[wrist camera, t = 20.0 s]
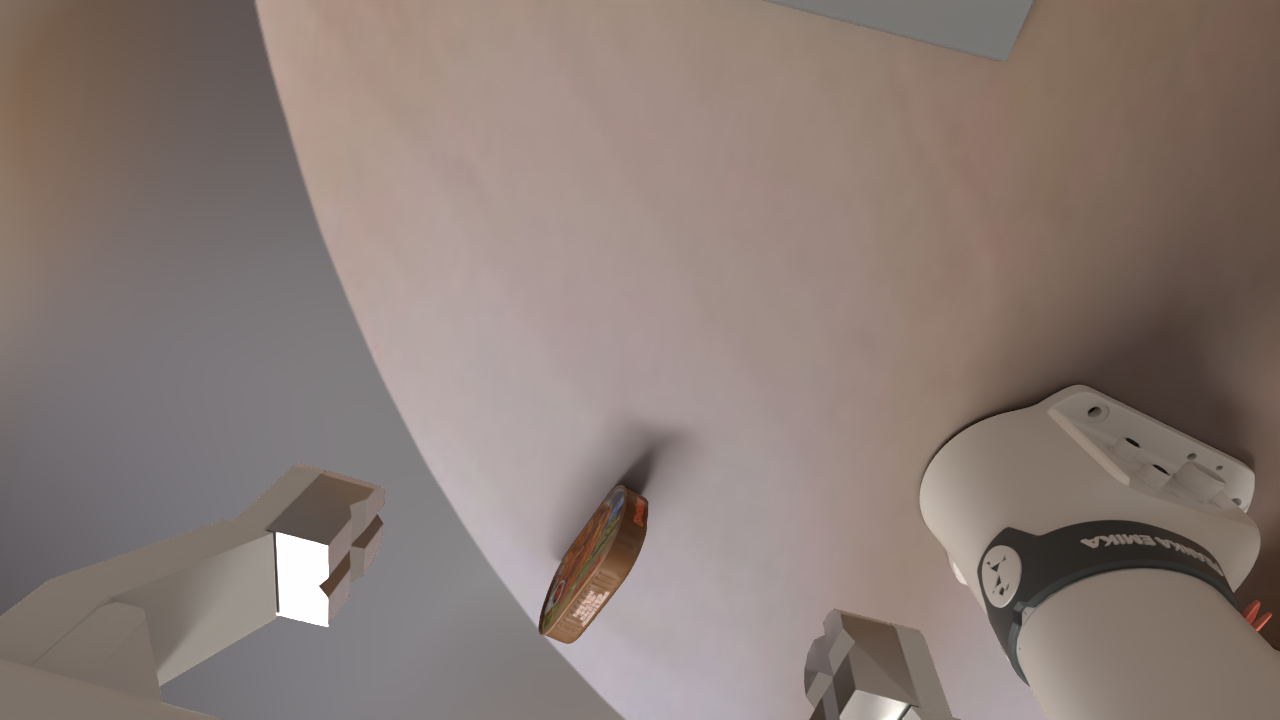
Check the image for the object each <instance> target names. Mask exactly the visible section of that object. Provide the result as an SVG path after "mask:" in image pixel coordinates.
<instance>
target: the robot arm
mask: <svg viewBox="0 0 1280 720" xmlns="http://www.w3.org/2000/svg"><path fill="white" fill-rule="evenodd" d="M1093 407H1096V408H1095V409H1094V410H1093V411H1092V412H1088V411H1089V410H1090V409H1091V408H1093ZM1254 488H1255V474H1254V473H1253V471H1252V470H1251V469H1250V468H1249V467H1248V466H1247V465H1246V464H1244V463H1243V462H1241V461H1239V460H1237V459H1235V458H1233V457H1231V456H1229V455H1227V454H1225V453H1223V452H1221V451H1219V450H1217V449H1215V448H1213V447H1211V446H1209V445H1207V444H1205V443H1203V442H1201V441H1199V440H1197V439H1195V438H1193V437H1191V436H1189V435H1187V434H1185V433H1182V432H1180V431H1178V430H1176V429H1174V428H1172V427H1170V426H1168V425H1166V424H1164V423H1162V422H1160V421H1158V420H1156V419H1154V418H1152V417H1150V416H1148V415H1146V414H1144V413H1142V412H1140V411H1137V410H1135V409H1133V408H1131V407H1129V406H1127V405H1125V404H1123V403H1121V402H1119V401H1117V400H1115V399H1113V398H1111V397H1109V396H1107V395H1105V394H1103V393H1101V392H1099V391H1097V390H1094V389H1092V388H1090V387H1088V386H1085V385H1074V386H1070V387H1067V388H1065V389H1063V390H1061V391H1059V392H1057V393H1055V394H1053V395H1052V396H1050V397H1048V398H1046V399H1045V400H1043V401H1041V402H1040V403H1038V404H1036V405H1034V406H1031V407H1028V408H1024V409H1020V410H1015V411H1011V412H1007V413H1003V414H999V415H996V416H993V417H990V418H988V419H985V420H983V421H980V422H978V423H976V424H974V425H972V426H971V427H969V428H967V429H965V430H964V431H962V432H961V433H959V434H958V435H957V436H955V437H954V438H953V439H951V440H950V441H949V442H948V443H947V444H946V445H945V446H944V447H943V448H942V449H941V450H940V451H939V452H938V453H937V455H936V456H935V457H934V459H933V460H932V461H931V463H930V465H929V466H928V468H927V470H926V472H925V475H924V477H923V480H922V484H921V489H920V507H921V512H922V515H923V518H924V520H925V522H926V524H927V526H928V528H929V529H930V531H931V532H932V533H933V534H934V536H935V537H936V538H937V539H938V540H939V541H940V543H941V544H942V545H943V547H944V548H945V549H946V551H947V552H948V557H949V562H950V566H951V568H952V571H953V572H954V574H955V575H956V577H957V579H958V580H959V581H960V582H961V583H963V584H965V585H968V586H969V587H970V589H971V591H972V592H973V594H974V595H975V597H976V599H977V600H978V602H979V603H980V605H981V607H982V608H983V610H984V611H985V613H986V614H987V616H988V618H989V621H990V623H991V625H992V627H993V629H994V631H995V633H996V635H997V638H998V640H999V642H1000V644H1001V646H1002V647H1001V649H1002V651H1003V653H1004V655H1005V657H1006V658H1007V659H1008V661H1009V662H1010V663H1011V665H1012V667H1013V668H1014V670H1015V671H1016V673H1017V675H1018V676H1019V677H1020V678H1021V679H1022V680H1023V681H1024V682H1025V683H1026V684H1027V685H1028V686H1029V687H1031V689H1032V691H1033V693H1034V695H1035V697H1036V699H1037V702H1038V704H1039V706H1040V708H1041V710H1042V712H1043V714H1044V716H1045V718H1046V720H1280V655H1279V654H1278V653H1277V652H1276V651H1275V650H1274V649H1273V648H1272V646H1271V645H1270V644H1269V643H1268V642H1267V641H1266V640H1265V639H1264V638H1263V637H1262V636H1261V635H1260V634H1259V633H1258V631H1259V630H1260V629H1261V628H1262V627H1263V625H1264V624H1265V623H1266V622H1267V621H1268V619H1269V618H1270V617H1271V616H1272V614H1271V613H1269V612H1267V613H1265V614H1264V615H1262V616H1261V617H1260V618H1258V619H1257V620H1256V621H1255V622H1253V621H1254V620H1255V617H1256V615H1257V612H1258V610H1259V607H1260V605H1261V603H1260V602H1259V601H1257V600H1255V601H1253V602H1251V603H1250V604H1249V605H1248V607H1247V608H1246V609H1245V610H1244V611H1243V612H1242V613H1241V612H1240V609H1239V606H1238V604H1237V601H1236V598H1235V596H1234V594H1233V593H1234V592H1235V591H1236V589H1237V588H1238V587H1239V586H1240V585H1241V583H1242V582H1243V581H1244V579H1245V578H1246V577H1247V575H1248V574H1249V572H1250V571H1251V569H1252V567H1253V566H1254V563H1255V561H1256V559H1257V557H1258V554H1259V551H1260V546H1261V537H1260V532H1259V529H1258V527H1257V525H1256V524H1255V522H1254V521H1253V520H1252V519H1251V518H1250V517H1249V516H1248V515H1247V514H1246V513H1247V511H1248V508H1249V506H1250V503H1251V501H1252V497H1253V494H1254ZM1231 499H1232V500H1231ZM384 502H385V490H384V489H383V488H382V487H381V486H378V485H375V484H372V483H368V482H364V481H361V480H358V479H354V478H351V477H348V476H345V475H341V474H338V473H334V472H331V471H325V470H322V469H319V468H315V467H312V466H308V465H306V464H302V463H301V464H298V465H295V466H293V467H291V468H290V469H289V470H288V471H287V472H286V473H285V474H284V475H283V476H281V477H280V478H279V479H278V480H277V481H276V482H275V483H274V484H273V485H272V486H271V487H270V488H269V489H267V490H266V491H265V492H264V493H263V494H262V495H261V496H260V497H259V498H258V499H257V500H256V501H254V503H252V504H251V505H250V506H249V507H248V508H247V509H246V510H245V511H244V512H243V513H242V514H240V515H239V516H238V517H237V518H236V519H235V520H234V521H233V522H231V521H227V520H222V521H219V522H216V523H213V524H210V525H207V526H204V527H201V528H199V529H196V530H192V531H190V532H187V533H184V534H181V535H178V536H175V537H172V538H170V539H166V540H163V541H160V542H158V543H155V544H152V545H149V546H146V547H143V548H140V549H137V550H134V551H132V552H129V553H125V554H123V555H120V556H117V557H114V558H111V559H108V560H105V561H103V562H99V563H96V564H93V565H90V566H88V567H85V568H82V569H79V570H76V571H73V572H70V573H67V574H64V575H61V576H58V577H56V578H53V579H50V580H48V581H46V582H45V583H44V584H42V585H41V586H40V587H39V588H37V589H36V590H35V591H33V592H32V593H31V594H29V595H28V596H27V597H25V598H24V599H23V600H21V601H20V602H19V603H18V604H16V605H15V606H14V607H12V608H11V609H10V610H8V611H7V612H6V613H4V614H3V615H2V616H0V720H224V719H220V718H217V717H213V716H210V715H206V714H202V713H199V712H195V711H191V710H188V709H184V708H181V707H177V706H173V705H169V704H166V703H162V698H161V694H160V688H159V686H161V685H163V684H164V683H166V682H168V681H169V680H171V679H173V678H175V677H176V676H178V675H180V674H181V673H183V672H185V671H186V670H188V669H190V668H192V667H193V666H195V665H197V664H198V663H200V662H202V661H204V660H205V659H207V658H208V657H210V656H212V655H214V654H216V653H217V652H219V651H221V650H222V649H224V648H226V647H227V646H229V645H231V644H232V643H234V642H236V641H238V640H239V639H241V638H243V637H244V636H246V635H248V634H250V633H251V632H253V631H255V630H257V629H258V628H260V627H262V626H263V625H265V624H267V623H268V622H270V621H272V620H274V619H275V618H276V617H277V615H281V616H286V617H290V618H294V619H298V620H302V621H306V622H310V623H315V624H319V625H323V626H327V627H328V625H329V624H330V622H331V621H332V619H333V618H334V617H335V615H336V614H337V613H338V611H339V610H340V608H341V607H342V606H343V604H344V603H345V601H346V600H347V599H348V597H349V596H350V582H351V581H354V580H356V579H358V578H360V577H362V576H364V574H365V573H366V572H367V570H368V569H369V567H370V566H371V564H372V562H373V560H374V558H375V556H376V554H377V551H378V549H379V546H380V543H381V539H382V535H383V522H382V521H381V519H380V518H379V516H378V512H379V511H380V510H381V508H382V507H383V506H384V504H385V503H384ZM1252 622H1253V623H1252ZM1251 623H1252V624H1251ZM1250 624H1251V625H1250ZM823 625H824V632H825V635H823V636H821V637H819V638H817V639H815V640H814V641H813V643H812V645H811V647H810V650H809V652H808V654H807V659H806V664H805V669H804V686H805V695H806V697H807V698H808V700H809V701H810V703H811V704H812V706H813V707H814V708H815V710H814V712H813V714H812V716H811V717H810V719H809V720H960V719H957V718H954V717H952V714H951V711H950V709H949V706H948V703H947V700H946V697H945V694H944V692H943V689H942V686H941V683H940V680H939V677H938V675H937V672H936V669H935V666H934V663H933V661H932V658H931V655H930V652H929V649H928V646H927V644H926V641H925V638H924V636H923V634H922V633H921V632H920V631H919V630H916V629H913V628H909V627H905V626H901V625H897V624H893V623H887V622H884V621H880V620H877V619H873V618H869V617H865V616H861V615H857V614H854V613H850V612H846V611H842V610H838V609H833V610H832V611H830V612H829V613H828V615H827V617H826V618H825V620H824V622H823Z"/></svg>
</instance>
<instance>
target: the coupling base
mask: <svg viewBox="0 0 1280 720" xmlns="http://www.w3.org/2000/svg"><path fill="white" fill-rule="evenodd" d="M764 1H768V2H772V3H776V4H779V5H783V6H787V7H791V8H795V9H799V10H802V11H806V12H810V13H814V14H818V15H822V16H826V17H829V18H833V19H837V20H841V21H845V22H849V23H853V24H856V25H860V26H864V27H868V28H872V29H876V30H880V31H883V32H887V33H891V34H895V35H899V36H903V37H906V38H910V39H914V40H918V41H922V42H926V43H930V44H933V45H937V46H941V47H945V48H949V49H953V50H957V51H960V52H964V53H968V54H972V55H976V56H980V57H984V58H987V59H991V60H995V61H1007V58H1008V56H1009V54H1010V52H1011V50H1012V47H1013V45H1014V43H1015V41H1016V38H1017V36H1018V34H1019V32H1020V30H1021V27H1022V25H1023V23H1024V21H1025V18H1026V16H1027V14H1028V12H1029V10H1030V7H1031V5H1032V3H1033V1H1034V0H764Z"/></svg>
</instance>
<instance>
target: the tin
mask: <svg viewBox="0 0 1280 720" xmlns="http://www.w3.org/2000/svg"><path fill="white" fill-rule="evenodd" d="M647 518H648V501H647V499H645V498H644V497H642V496H641V495H639V494H637V493H635V492H633V491H631V490H629V489H627V488H626V487H625V486H624V485H618V486H616V487H615V488H614V489H613V490H612V491H611V492H610V493H609V494H608V495H607V497H606V498H605V499H604V501H603V502H602V503H601V505H600V506H599V508H598V509H597V511H596V512H595V513H594V515H593V516H592V518H591V519H590V520H589V522H588V523H587V525H586V526H585V528H584V529H583V530H582V532H581V533H580V534H579V536H578V537H577V539H576V540H575V542H574V543H573V544H572V546H571V547H570V549H569V550H568V551H567V553H566V555H565V556H564V558H563V560H562V562H561V563H560V565H559V567H558V569H557V571H556V573H555V575H554V577H553V580H552V582H551V585H550V587H549V590H548V592H547V595H546V598H545V601H544V604H543V607H542V611H541V615H540V620H539V632H540V634H541V635H546V636H548V637H551V638H553V639H555V640H558V641H560V642H563V643H566V644H569V643H572V642H574V641H575V640H577V639H578V638H579V637H580V636H581V635H582V633H583V632H584V631H585V630H586V628H587V627H588V626H589V625H590V624H591V622H592V621H593V620H594V618H595V617H596V616H597V615H598V613H599V612H600V611H601V610H602V608H603V607H604V606H605V605H606V603H607V602H608V601H609V599H610V598H611V597H612V596H613V594H614V593H615V592H616V590H617V589H618V588H619V587H620V585H621V584H622V583H623V581H624V580H625V579H626V577H627V576H628V574H629V572H630V571H631V569H632V567H633V565H634V563H635V562H636V560H637V557H638V555H639V553H640V551H641V548H642V545H643V542H644V539H645V536H646V531H647Z"/></svg>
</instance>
